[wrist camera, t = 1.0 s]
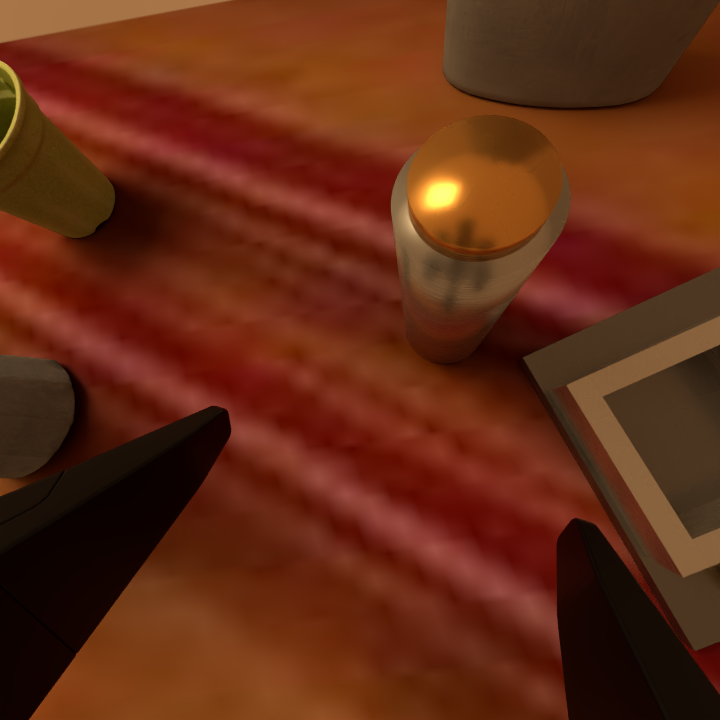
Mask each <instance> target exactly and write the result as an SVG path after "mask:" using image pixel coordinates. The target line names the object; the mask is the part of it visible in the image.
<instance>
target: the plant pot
mask: <svg viewBox="0 0 720 720" xmlns="http://www.w3.org/2000/svg"><path fill="white" fill-rule="evenodd" d="M114 203H115V191H114V188H113V186H112V184H111V183H110V181H109V180H108V179H107V177H106V176H105V175H104V174H103V173H102V172H101V171H100V170H99V169H98V168H97V167H96V166H95V165H94V164H93V163H92V162H91V161H90V160H89V159H88V158H87V157H86V156H85V155H84V154H83V153H82V152H81V151H80V150H79V149H78V148H77V147H76V146H75V145H74V144H73V143H72V142H71V141H70V140H69V139H68V138H67V137H66V136H65V135H64V134H63V133H62V132H61V131H60V130H59V129H58V128H57V127H56V126H55V125H54V124H53V123H52V122H51V121H50V120H49V119H48V118H47V117H46V116H45V115H44V114H43V113H42V111H41V110H40V109H39V106H38V105H37V103H36V102H35V100H34V99H33V98H32V97H31V96H30V95H29V94H28V93H27V92H26V91H25V89H24V86H23V83H22V81H21V79H20V78H19V76H18V75H17V74H16V73H15V72H14V71H13V70H12V69H11V68H10V67H9V66H8V65H7V64H5V63H4V62H2V61H0V210H1V211H4V212H6V213H9V214H11V215H14V216H16V217H19V218H21V219H24V220H26V221H29V222H31V223H34V224H36V225H39V226H41V227H44V228H46V229H49V230H51V231H54V232H57V233H59V234H62V235H64V236H67V237H71V238H81V237H85V236H88V235H90V234H92V233H94V232H95V229H96V227H97V226H98V225H99V224H100V223H102V222H103V221H106V220H107V219H108V218H109V216H110V215H111V213H112V210H113V207H114Z"/></svg>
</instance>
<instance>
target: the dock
mask: <svg viewBox="0 0 720 720" xmlns="http://www.w3.org/2000/svg"><path fill="white" fill-rule="evenodd" d="M518 361H519V363H520V365H521V367H522V368H523V370H524V372H525V373H526V375H527V377H528V379H529V380H530V382H531V384H532V386H533V387H534V389H535V391H536V392H537V394H538V396H539V398H540V399H541V401H542V403H543V404H544V406H545V408H546V410H547V411H548V413H549V415H550V417H551V418H552V420H553V422H554V423H555V425H556V427H557V429H558V430H559V432H560V434H561V435H562V437H563V439H564V441H565V442H566V444H567V446H568V448H569V449H570V451H571V453H572V454H573V456H574V458H575V460H576V461H577V463H578V465H579V467H580V468H581V470H582V472H583V473H584V475H585V477H586V479H587V480H588V482H589V484H590V485H591V487H592V489H593V491H594V492H595V494H596V496H597V498H598V499H599V501H600V503H601V504H602V506H603V508H604V510H605V511H606V513H607V515H608V516H609V518H610V520H611V522H612V523H613V525H614V527H615V529H616V530H617V532H618V534H619V535H620V537H621V539H622V541H623V542H624V544H625V546H626V547H627V549H628V551H629V553H630V554H631V556H632V558H633V560H634V561H635V563H636V565H637V566H638V568H639V570H640V572H641V573H642V575H643V577H644V579H645V580H646V582H647V584H648V585H649V587H650V589H651V591H652V592H653V594H654V596H655V597H656V599H657V601H658V603H659V604H660V606H661V608H662V610H663V611H664V613H665V615H666V616H667V618H668V620H669V622H670V623H671V625H672V627H673V628H674V630H675V632H676V634H677V635H678V637H679V639H680V640H682V641H683V642H684V643H685V644H687V645H688V646H689V647H690V648H692V649H693V650H694V651H696V650H699V649H701V648H704V647H707V646H709V645H712V644H714V643H717V642H720V268H717V269H714V270H712V271H710V272H708V273H706V274H703V275H701V276H699V277H697V278H695V279H693V280H690V281H688V282H686V283H684V284H682V285H680V286H677V287H675V288H673V289H671V290H669V291H666V292H664V293H662V294H660V295H658V296H656V297H653V298H651V299H649V300H647V301H645V302H643V303H640V304H638V305H636V306H634V307H632V308H629V309H627V310H625V311H623V312H621V313H619V314H616V315H614V316H612V317H610V318H608V319H606V320H603V321H601V322H599V323H597V324H595V325H592V326H590V327H588V328H586V329H584V330H582V331H579V332H577V333H575V334H573V335H571V336H569V337H566V338H564V339H562V340H560V341H558V342H555V343H553V344H551V345H549V346H547V347H545V348H542V349H540V350H538V351H536V352H534V353H532V354H529V355H527V356H525V357H523V358H521V359H520V360H518Z"/></svg>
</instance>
